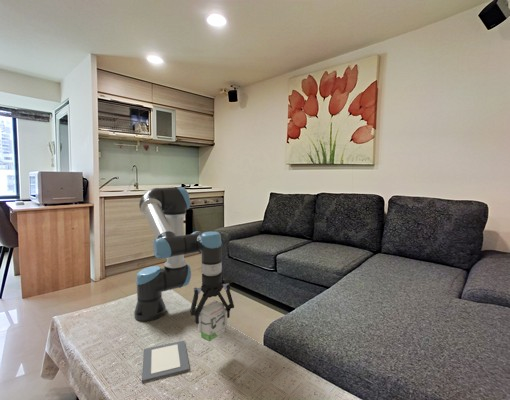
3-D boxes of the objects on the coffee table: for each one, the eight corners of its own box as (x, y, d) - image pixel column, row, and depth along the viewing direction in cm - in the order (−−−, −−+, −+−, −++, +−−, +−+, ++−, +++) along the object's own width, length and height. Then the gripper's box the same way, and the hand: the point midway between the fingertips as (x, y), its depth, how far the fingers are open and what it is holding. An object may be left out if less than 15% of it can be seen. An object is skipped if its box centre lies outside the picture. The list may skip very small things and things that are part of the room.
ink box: (209, 342, 101) (208, 312, 100) (200, 337, 104) (199, 308, 103) (225, 331, 108) (224, 303, 106) (216, 327, 111) (215, 299, 109)
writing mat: (143, 350, 110) (143, 348, 109) (184, 342, 115) (184, 339, 115) (141, 382, 93) (141, 379, 93) (189, 370, 98) (189, 368, 98)
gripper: (183, 280, 96) (184, 339, 98) (242, 272, 103) (242, 327, 106) (181, 272, 103) (182, 328, 105) (236, 265, 110) (237, 317, 113)
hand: (212, 328), depth 105 cm, fingers closed on ink box, 9 cm apart
